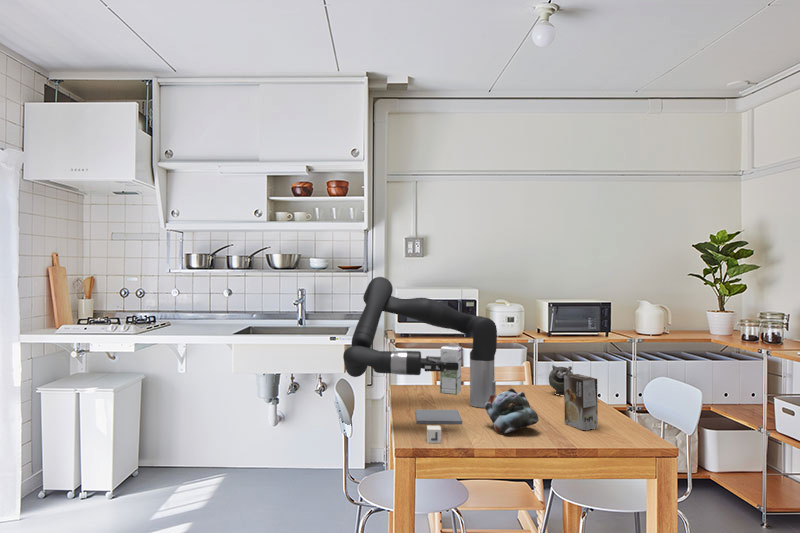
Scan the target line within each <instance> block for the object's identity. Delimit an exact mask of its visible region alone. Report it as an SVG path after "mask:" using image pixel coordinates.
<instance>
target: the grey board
mask: <svg viewBox="0 0 800 533" xmlns="http://www.w3.org/2000/svg"><path fill="white" fill-rule="evenodd" d="M415 419H416V420H415V421H416V424H417V425H418V424H419V425H420V424H421V425H463V419H462V417H461V414H460V412H459V410H458V409H425V408H424V409H415Z"/></svg>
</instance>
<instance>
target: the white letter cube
mask: <svg viewBox="0 0 800 533" xmlns="http://www.w3.org/2000/svg"><path fill="white" fill-rule="evenodd" d="M426 441H427V442H426V443H427V444H442V427H441V425H432V424H426Z"/></svg>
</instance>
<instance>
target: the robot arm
mask: <svg viewBox="0 0 800 533" xmlns="http://www.w3.org/2000/svg"><path fill="white" fill-rule="evenodd" d="M393 289H394V288H393V284H392V282H391V281H390V280H389V279H388V278H386V277H383V276H377V277H376V276H375V277H374V278H373V279H372V280H371V281H370V282H369V284H368V285H367V287H366V289H365V291H364V293H363V298H362V299H363V301H364V302H363V303H365V305H364V309H363V311H362V313H361V316H360V317H359V320H358V322H357V324H356V327H355V329H354V333H353V334H352V337H351V346H350V347H348V348H346V349H344V351H343V355H342V356H343V363H344V366H345V371H346V373H347V374H348V376H351V377H353V378H358V377H360V376H362V375H364V374H365V373H366V372H367V368H368V367H371V368H372V369H373V371H374V372H375V373H377V374H390V375H391V374H392V375H398V376H399V375H401V376H403V375H404V376H420V375H421V373H422V369H423V370H424V372H437V373H438V372H439V373H440V372H443V371H445V370H458V366H459V365H458V363H452V362H447V363H446V362H441V361H440V359H441V356H430V355H427V356H425V357H423V358H422V352H421V351H419V350H417V351H416V350H395V351H391V350H389V351H388V350H378V349H373V348H372V345H373V342H374V339H375V337H376V333H377V329H378V327H379V323H380V320H381V316H382V313H383V312H385V313H389V314H394V315H399V316H401V317H405V318H408V319H410V320H411V319H412V320H415V321H418V322H420V323H423V324H426V325H430V326H433V327H437V328H442V329H447V330H449V329H450V330H454V331H457V332H459V333H462V334H463V335H466V336H468V337H470V338H472V348H471V351H470V352H469V405H470V406H471V407H475V408H480V409H481V408H484V409H485V407H484V404H486V402H488V401H489V398H490V395H494V396H497V393H496V389H497V388H496V387H497V386H496V385H497V384H496V380H495V359H496V358H495V355H496V353H497V343H498V342H497V340H498V328H497V325H496V323H495V322H494V321H493V319H491V318H489V317H485V316H480V315H476V314H475V315H474V314H469V313H465V312H462V311H459V310H456V309H455V308H453V307H451V306H449V305H447V304H445V303H443V302H440V301H437V300H433V299H431V298H428V297H413V298H411V297H410V298H400V297H396V296H392V294H393Z"/></svg>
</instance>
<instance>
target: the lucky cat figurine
mask: <svg viewBox="0 0 800 533" xmlns="http://www.w3.org/2000/svg"><path fill="white" fill-rule="evenodd" d="M484 407H485V408H484V409H485V410H486V413H487V415H488V417H489V419H490V420H491V422H492V423H493V426H494V431H495V432H496V433H497V434H500V435H502V436H505V435H506V434H508V433H511V432H513V431H516V430H519V429H522V428H528V427H530V426H533V425H535V424H537V423H538V422H539V420H540V419H539V415H538V414H537V412H536V410H534V409H533V408H531V404H530V402H529V401H528V399H527V396H526V394H525V392H524V391H520V392H518V393H517V391H516V390H515V389H514V388H509V389H508V390H505V391H502V392H500V393H498V394H496V396H494V395H490V398H489V401H488V402H486V404H484Z"/></svg>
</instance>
